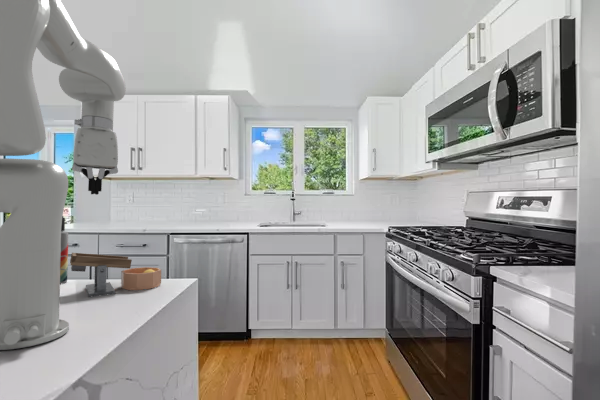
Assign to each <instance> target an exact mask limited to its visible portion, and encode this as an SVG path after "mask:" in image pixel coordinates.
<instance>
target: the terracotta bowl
mask: <svg viewBox="0 0 600 400" xmlns="http://www.w3.org/2000/svg"><path fill="white" fill-rule="evenodd" d="M148 269H152V270H154V271H155V272H150V273H143V272H144V271H146V270H148ZM120 274H121V275H120V281H121V282H120V284H121V287H120V288H121V289H122V290H124V289H125V291H143V289H146V290H152V289H155V287H156V288H158V286H159V287H161V284H162V269H160V268H159V267H147V266H145V267H144V266H143V267H142V266H141V267H134V268H133V267H132V268H131V267H130V268H126V269H123V270H121V273H120ZM151 288H152V289H151Z"/></svg>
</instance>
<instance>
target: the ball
mask: <svg viewBox="0 0 600 400" xmlns="http://www.w3.org/2000/svg"><path fill="white" fill-rule="evenodd" d="M150 272H155V271H154V270H152V269H148V270H146V271H144V272H143V273H150Z"/></svg>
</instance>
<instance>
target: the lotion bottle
mask: <svg viewBox="0 0 600 400" xmlns="http://www.w3.org/2000/svg"><path fill="white" fill-rule="evenodd" d="M65 229H66V218H65V217H64V215H63V216H62V226H61V257H60V285H62V284H61V283H63V284H66V283H67V282H68V274H69V273H68V272H69V271H68V270H69V269H68V267H69V262H68V261H69V232H68V231H65ZM65 282H66V283H65Z"/></svg>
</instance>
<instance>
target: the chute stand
mask: <svg viewBox="0 0 600 400" xmlns="http://www.w3.org/2000/svg"><path fill="white" fill-rule="evenodd" d="M106 266H107V265H98V267H95V266H94V283H91V284H85V289H86V293H87V297H88V298H92V297H91V296H93V297H100V296H99V295H101V296H108V295H107V294H110V295H115V294H116V289H115V288H114V287H113V285H112V284H111V282H110V281H107V267H106Z"/></svg>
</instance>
